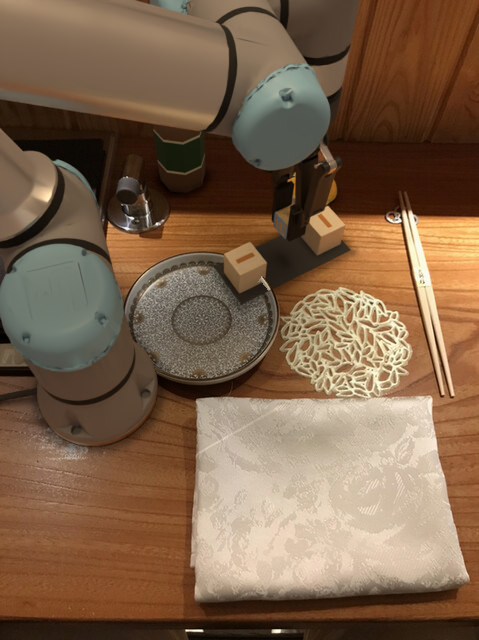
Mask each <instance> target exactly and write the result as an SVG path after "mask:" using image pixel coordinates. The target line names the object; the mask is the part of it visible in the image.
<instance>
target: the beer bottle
mask: <svg viewBox="0 0 479 640" xmlns="http://www.w3.org/2000/svg"><path fill="white" fill-rule="evenodd" d="M152 130H153V137H154V145H155V152H156V160H157V167H158V168H157V169H158V174H159V178H160V182H162V184H163V185H164V186H165V187H166V188H167V190H168V191H169V192H171V193H178V194H181V193H184V194H189V193H190V192H193V191H194V190H197V189H198V188H201V187H202V186H203V183H204V179H205V175H206V145H205V132H201V131H194V130H188V129H182V128H176V127H170V126H163V125H157V124H152Z"/></svg>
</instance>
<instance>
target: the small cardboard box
mask: <svg viewBox="0 0 479 640" xmlns="http://www.w3.org/2000/svg"><path fill="white" fill-rule="evenodd" d="M255 247H256V246H254V245H253V243H252V242H251V241H248V242H246V243H244V244H242V245H240V246H238V247H235V248H233V249H231V250H229V251H227V252H225V253H223V262H224V273H225V275H226V276H227V277H228V279H229V280H230V282H231V283H232V284H233V286H234V287H235V288H236V290H237V291H238V292H239V293H242V292H244V291H246V290H248V289H250V288H252V287H254V286H256V285H258V284H260V283H262V282H261V281H260V282H258V281H259V279H260V278H261V276H262V277H264V278H265V276H266V266H267V262H266V261H265V260H264V259H263V257H262V256H261V255H260V253H259V252H258V251H257V250H256V248H255ZM257 282H258V283H257Z"/></svg>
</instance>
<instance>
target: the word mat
mask: <svg viewBox="0 0 479 640" xmlns="http://www.w3.org/2000/svg"><path fill="white" fill-rule="evenodd" d="M254 247H255V248H256V250H257V251H258V252H259V253H260V255H261V256H262V257H263V259H264V260H265V261H266V262H267V266H266V276H265V280H266V281H267V282H268V283H269V285H270V286H271V288H272V290H275V289H276V288H278V287H280V286H282V285H284V284H286V283H288V282H290V281H292V280H294V279H297V278H298V277H300V276H302V275H304V274H307V273H309V272H310V271H313V270H315V269H316V268H318V267H320V266H322V265H324V264H326V263H328V262H330V261H332V260H334V259H336V258H338V257H340V256H343V255H345V254H347V253H348V252H351V251H352V250H351V248H350V247H349V246H348V245H347V243H345V242H344V240H343V239H342V240H341V244H340V245H338V246H336V247H334V248H332V249H330V250H328V251H326V252H323V253H321V254H319V255H316V254H315V253H314V251H313V250H312V249H311V248H310V247H309V246H308V244H307V243H306V242H305V241H304V240H303V239H302V237H298V238H296V239H294V240H292V241H290V242H289V241H288V240H287V239H284V237H283V236H282V235H281V234H280V235H279V236H276V237H274V238H271V239H270V240H267V241H266V242H263V243H261V244H259V245H257V246H254ZM213 268H214V269H215V272H216V273H217V274H218V276H220V278H221V280H222V281H223V282H224V284H225V285H226V286H227V288H228V289H229V291H230V292H231V293H232V294H233V296H234V297H235V299H236V300H237V301H238V303H239V304H240V305H244V304H245V303H248V302H250V301H252V300H254V299H256V298H257V297H260V296H262V295H264V294H266V293H268V292H269V291H268V290H267V288H266V287H265V286H264V285H263V283H260V284H258V285H256V286H254V287H252V288H250V289H248V290H246V291H244V292H242V293H239V292H238V291H237V290H236V288H235V287H234V286H233V284H232V283H231V282H230V280H229V279H228V277H227V276H226V275H225V273H224V261H222V262H220V263H218V264H216V265H214V266H213Z"/></svg>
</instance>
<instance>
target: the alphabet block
mask: <svg viewBox="0 0 479 640" xmlns="http://www.w3.org/2000/svg"><path fill="white" fill-rule="evenodd" d="M292 205H293V204H292ZM292 205H290V206H292ZM290 206H288V207H286V208H283V209H281V210H279V211H277V212H275V215H274V223H273V228H274V229H275V230H276V231H277V232H278V233H279V234H280V236H281V235H282V236H283V237H284V239H286V237H287V229H288V221H289V214H290Z"/></svg>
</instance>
